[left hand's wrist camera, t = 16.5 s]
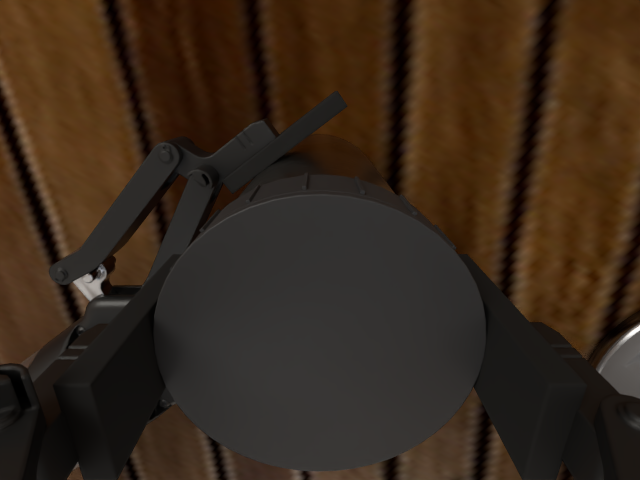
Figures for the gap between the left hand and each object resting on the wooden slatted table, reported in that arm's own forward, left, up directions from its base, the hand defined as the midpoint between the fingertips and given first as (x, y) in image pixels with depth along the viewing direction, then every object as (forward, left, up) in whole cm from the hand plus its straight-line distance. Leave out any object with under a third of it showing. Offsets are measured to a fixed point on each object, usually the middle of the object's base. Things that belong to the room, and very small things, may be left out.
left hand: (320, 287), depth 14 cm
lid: (0, 0, +3) cm, 3 cm away
